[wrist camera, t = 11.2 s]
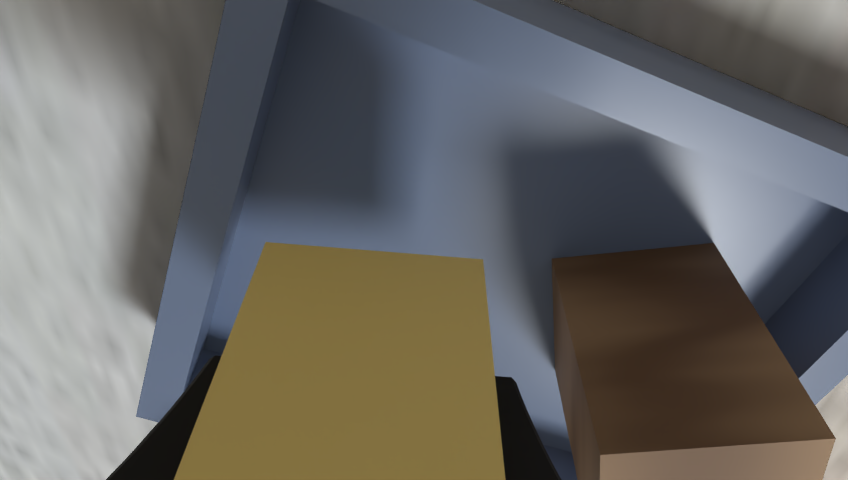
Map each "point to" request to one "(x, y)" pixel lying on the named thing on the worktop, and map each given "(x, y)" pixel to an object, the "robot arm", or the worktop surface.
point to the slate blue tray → (497, 174)
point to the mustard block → (353, 373)
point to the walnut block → (676, 373)
